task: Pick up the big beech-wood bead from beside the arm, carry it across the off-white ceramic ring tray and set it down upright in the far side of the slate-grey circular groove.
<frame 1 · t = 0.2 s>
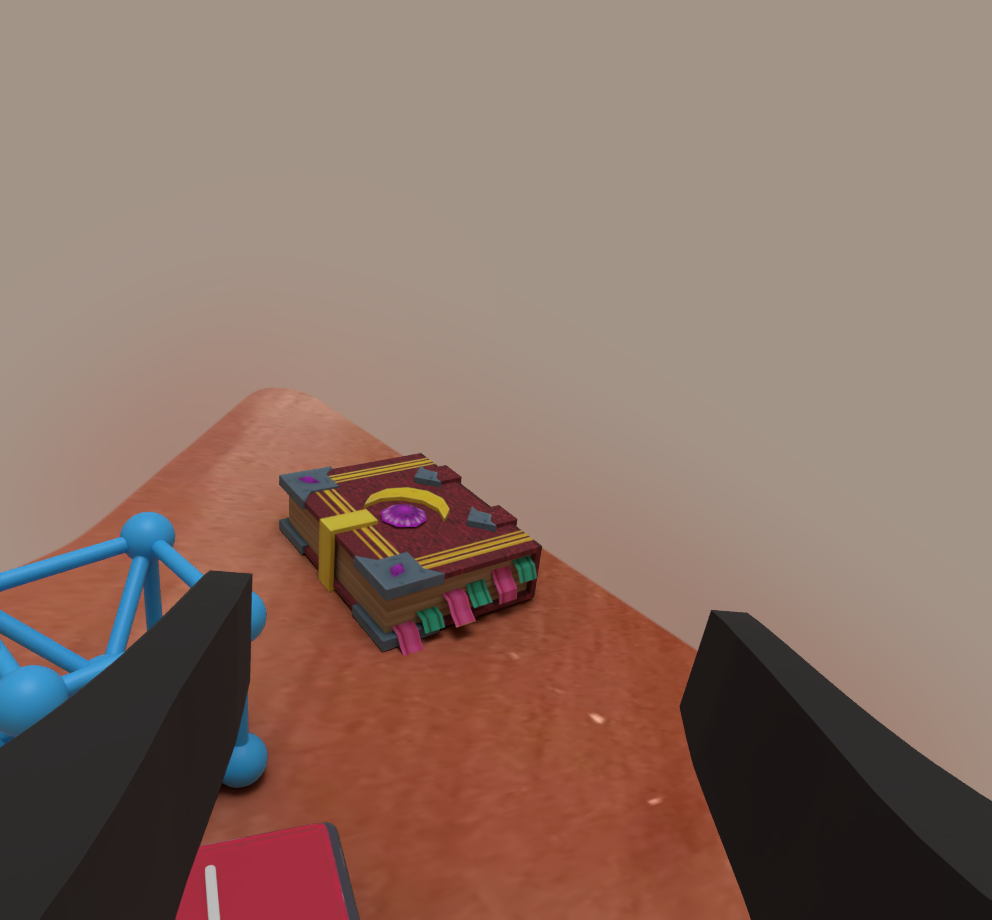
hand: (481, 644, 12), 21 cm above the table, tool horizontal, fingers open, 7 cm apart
decorative book: (406, 574, 53), on the table
molecular structure: (116, 774, 35), on the table
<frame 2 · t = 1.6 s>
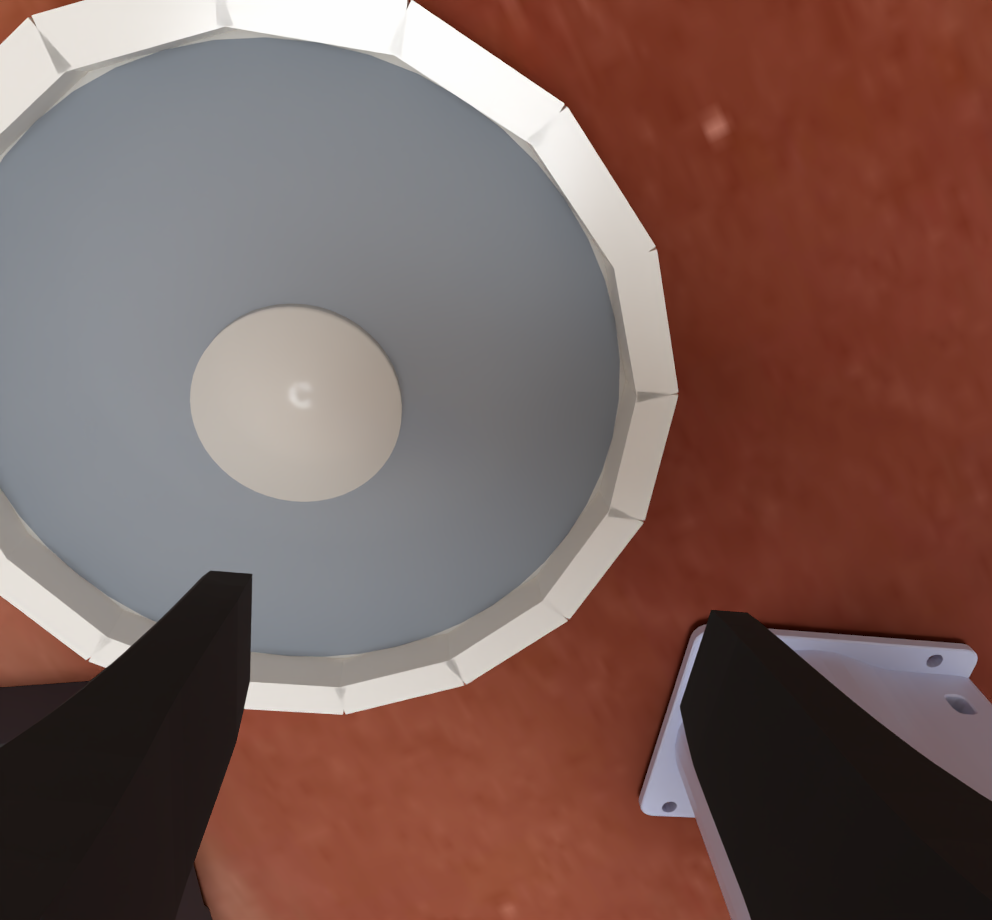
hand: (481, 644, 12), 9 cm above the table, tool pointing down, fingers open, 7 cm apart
calculator: (33, 844, 28), on the table
ring tray: (304, 393, 20), on the table
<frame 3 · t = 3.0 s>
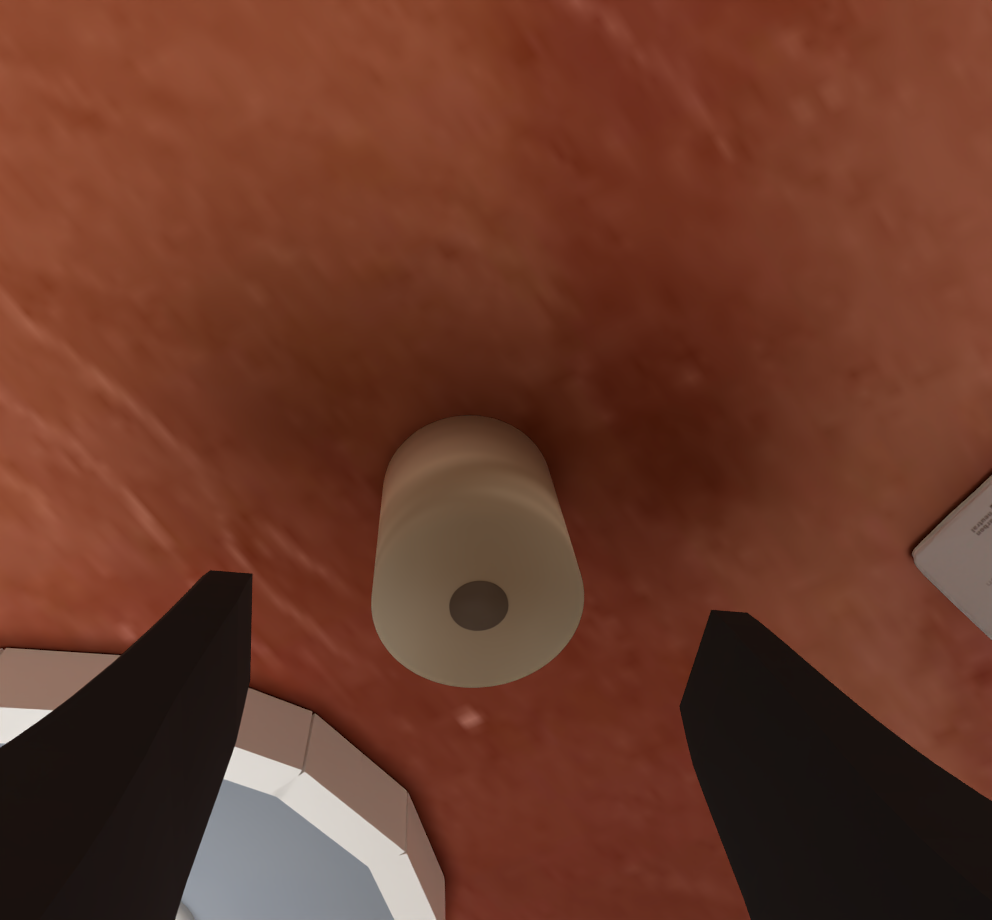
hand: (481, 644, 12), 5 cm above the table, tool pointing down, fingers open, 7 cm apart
ring tray: (110, 911, 22), on the table
wooden bead: (467, 492, 17), on the table
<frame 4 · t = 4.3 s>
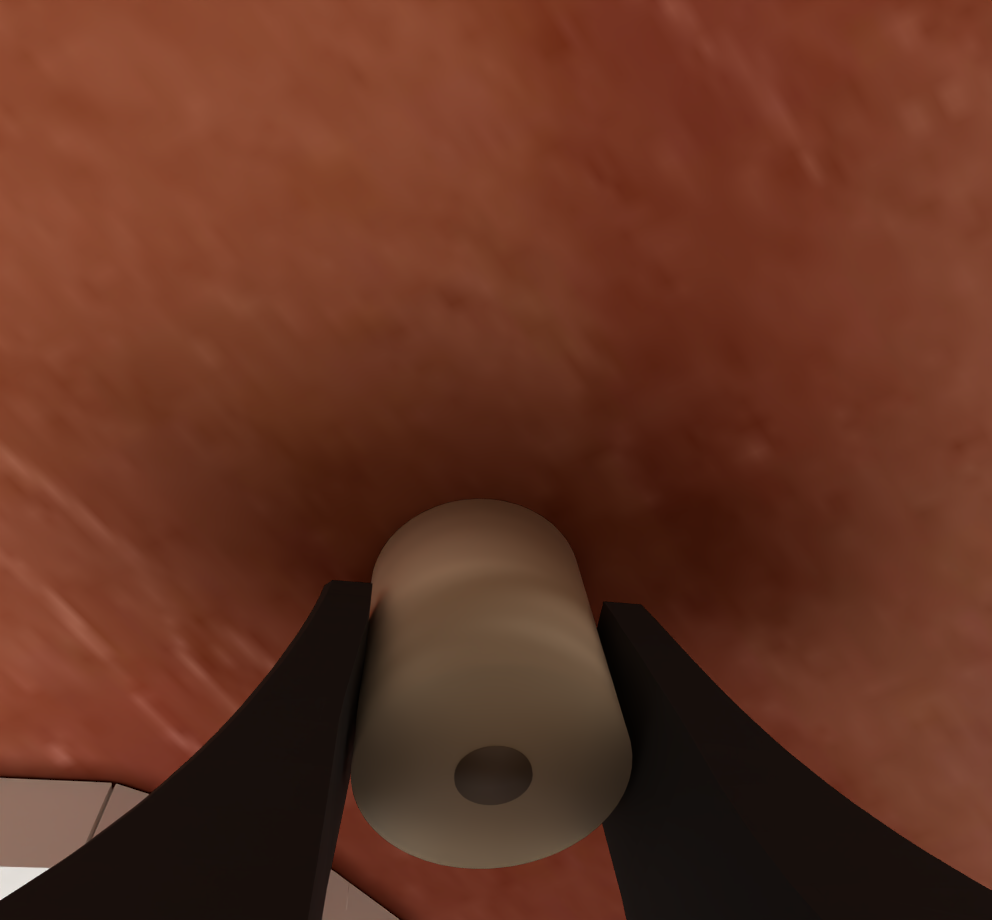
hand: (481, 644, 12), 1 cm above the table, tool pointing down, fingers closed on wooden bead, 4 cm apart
wooden bead: (476, 589, 14), on the table, touching gripper
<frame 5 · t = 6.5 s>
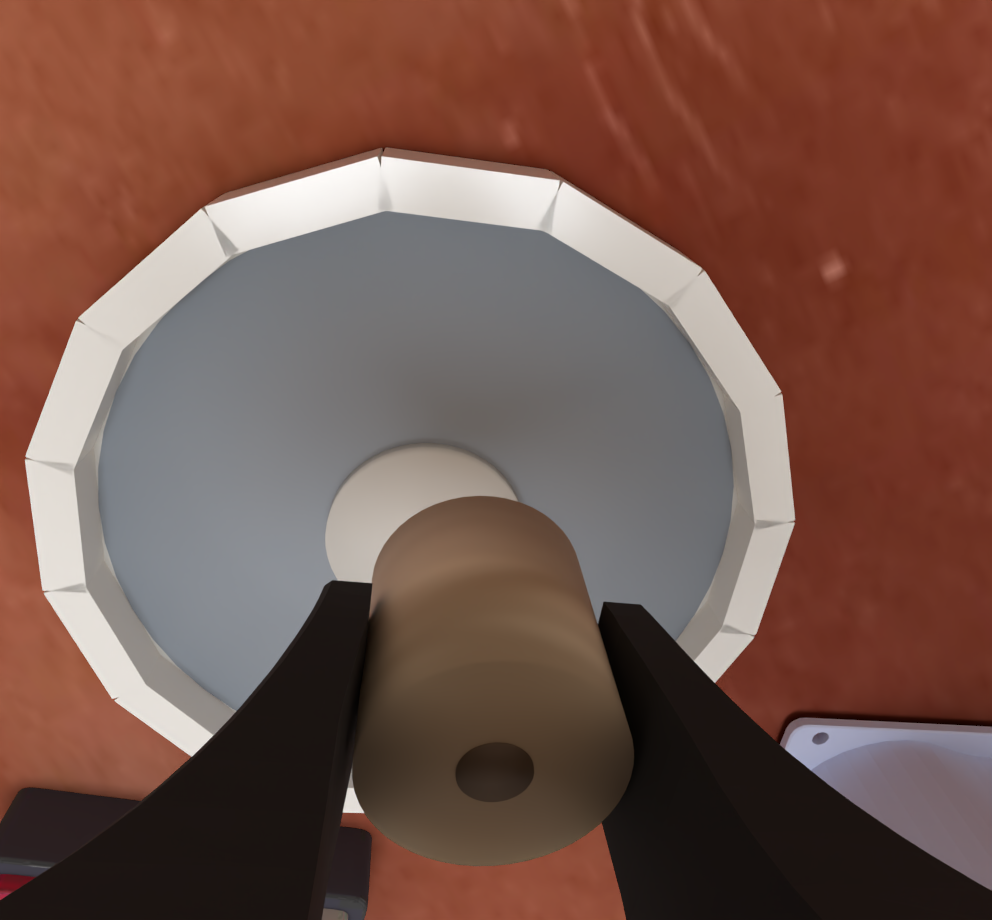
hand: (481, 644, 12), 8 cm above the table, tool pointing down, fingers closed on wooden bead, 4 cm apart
ring tray: (426, 518, 21), on the table
wooden bead: (477, 587, 14), point 7 cm above the table, touching gripper
when the fingers open (3 cm above the table, at t = 8.8 s): wooden bead stays where it is, resting on ring tray.
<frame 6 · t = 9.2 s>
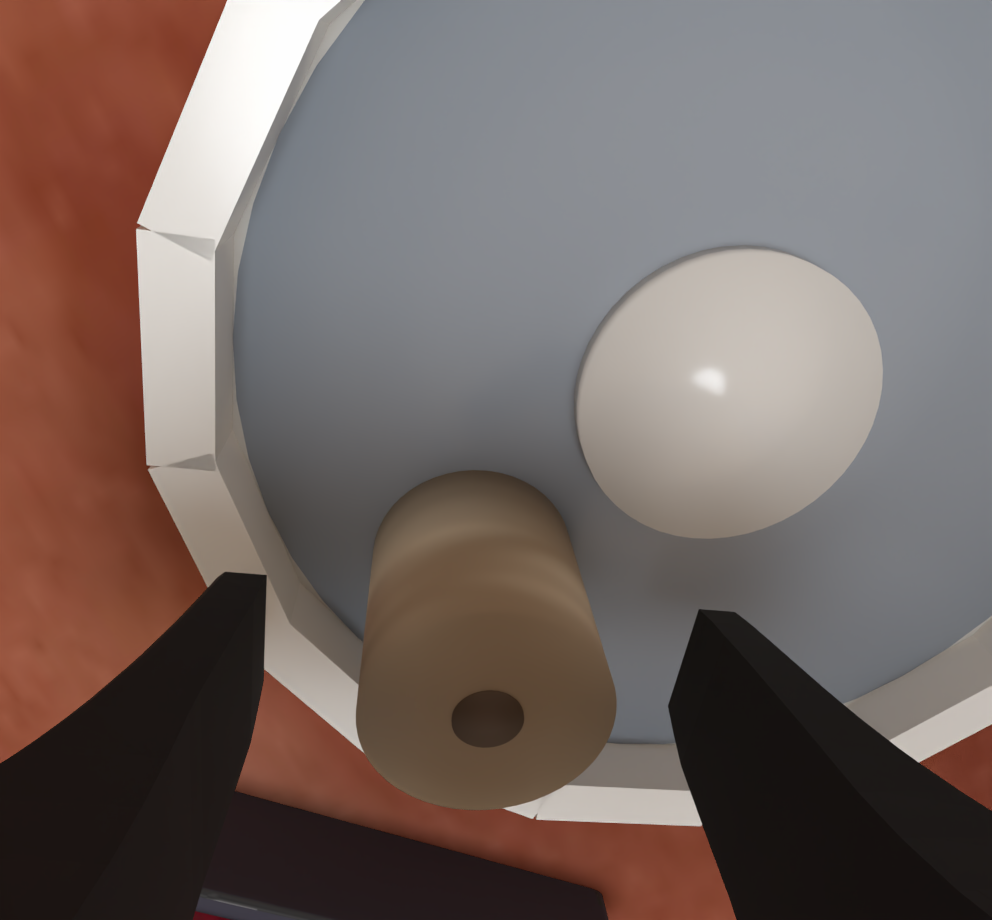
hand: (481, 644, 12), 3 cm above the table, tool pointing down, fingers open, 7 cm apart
ring tray: (708, 381, 14), on the table
wooden bead: (472, 557, 15), point 1 cm above the table, touching ring tray
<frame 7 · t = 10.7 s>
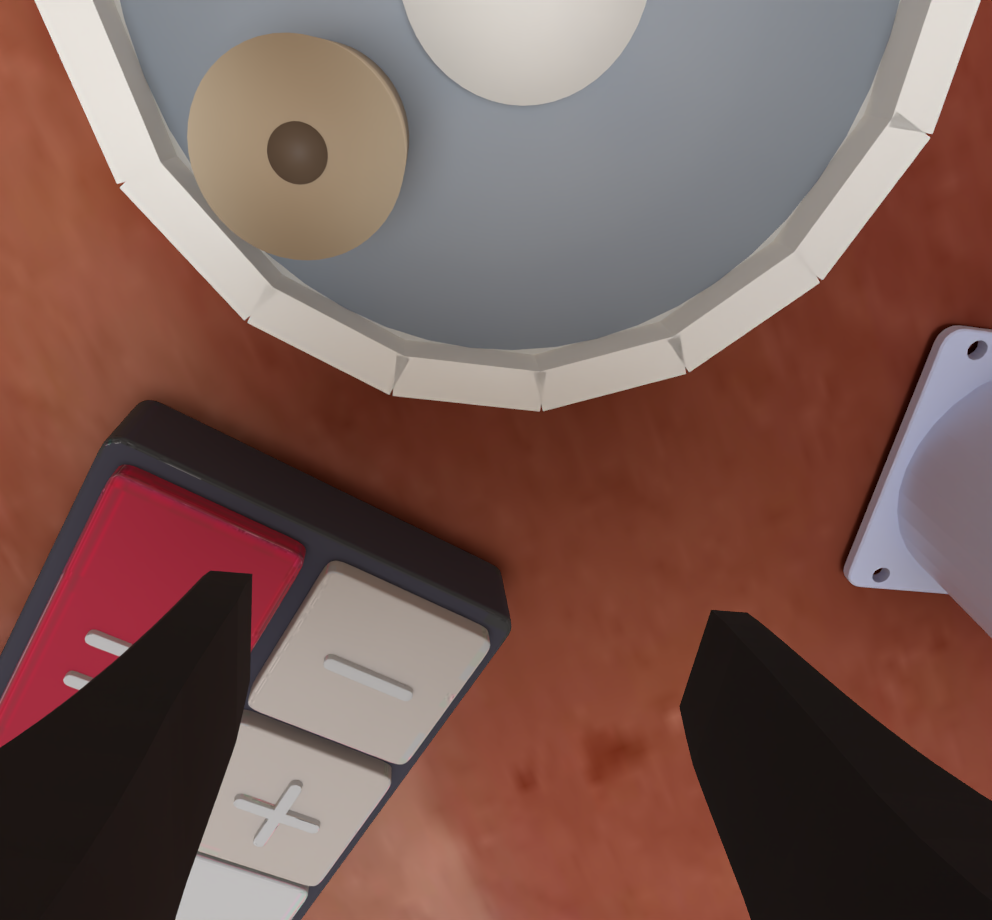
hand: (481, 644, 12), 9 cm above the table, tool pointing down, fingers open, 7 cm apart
calculator: (227, 663, 25), on the table
wooden bead: (324, 134, 17), point 1 cm above the table, touching ring tray
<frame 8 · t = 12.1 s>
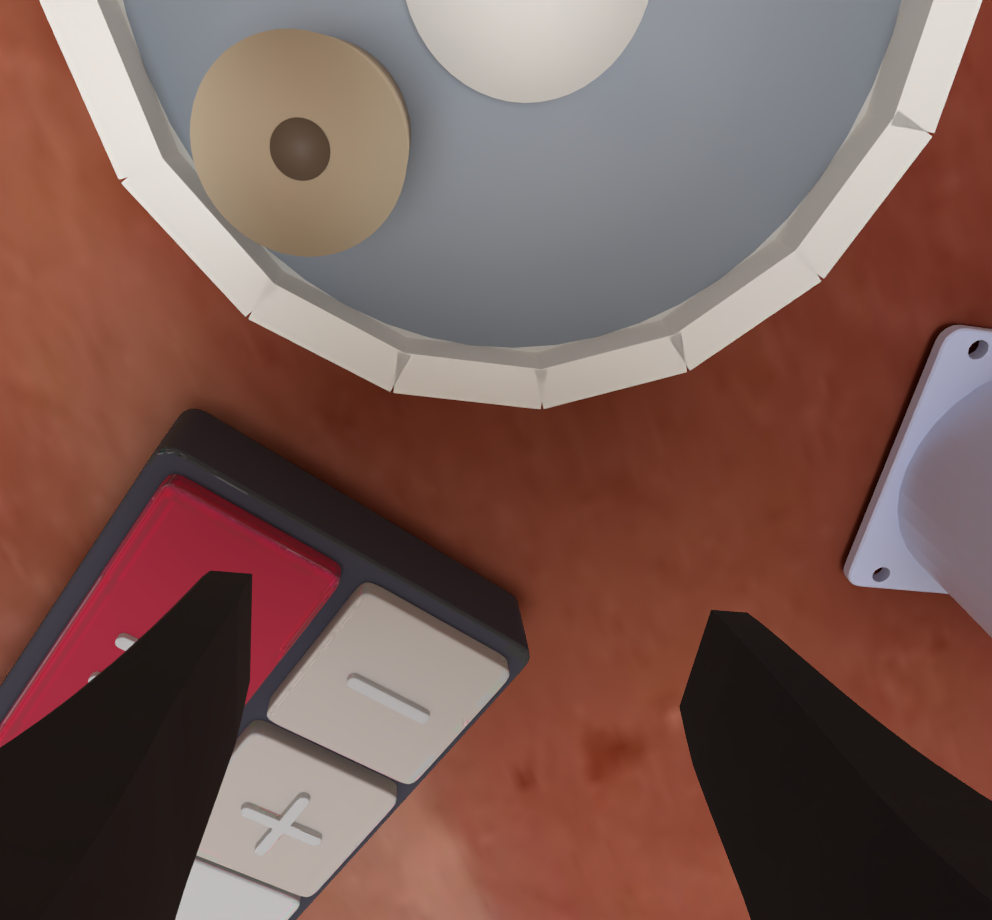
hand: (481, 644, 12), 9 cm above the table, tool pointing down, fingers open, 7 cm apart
calculator: (237, 669, 25), on the table
wooden bead: (326, 131, 17), point 1 cm above the table, touching ring tray
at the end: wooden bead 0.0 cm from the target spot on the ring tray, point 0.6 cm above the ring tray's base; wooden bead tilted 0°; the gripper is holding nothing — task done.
